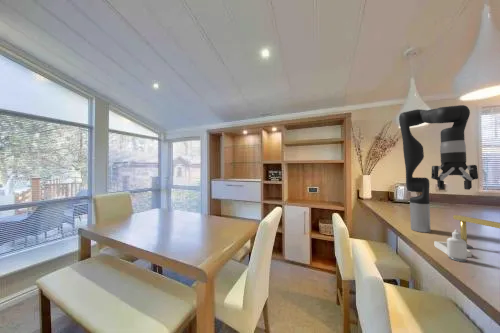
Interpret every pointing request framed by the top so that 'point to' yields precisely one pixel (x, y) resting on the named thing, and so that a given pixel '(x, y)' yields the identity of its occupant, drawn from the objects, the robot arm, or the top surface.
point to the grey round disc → (458, 259)
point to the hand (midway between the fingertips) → (454, 189)
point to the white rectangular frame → (443, 247)
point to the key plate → (469, 247)
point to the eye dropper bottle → (456, 246)
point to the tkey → (472, 220)
